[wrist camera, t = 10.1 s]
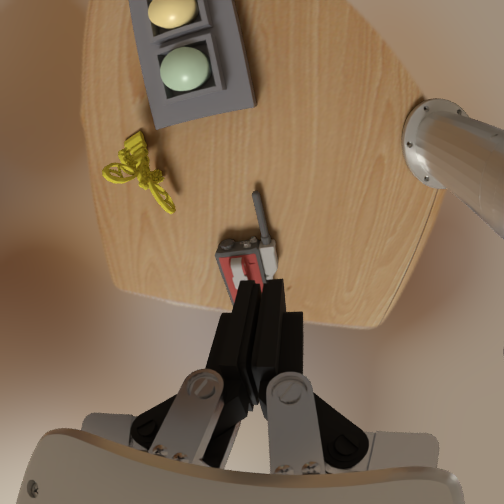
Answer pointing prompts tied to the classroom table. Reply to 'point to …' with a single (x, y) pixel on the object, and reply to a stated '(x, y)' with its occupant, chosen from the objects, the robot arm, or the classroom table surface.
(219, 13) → the button panel
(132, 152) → the decorative insect
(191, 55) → the sage button
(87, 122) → the classroom table surface
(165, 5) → the mustard button
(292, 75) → the classroom table surface
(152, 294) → the classroom table surface
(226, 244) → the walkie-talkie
